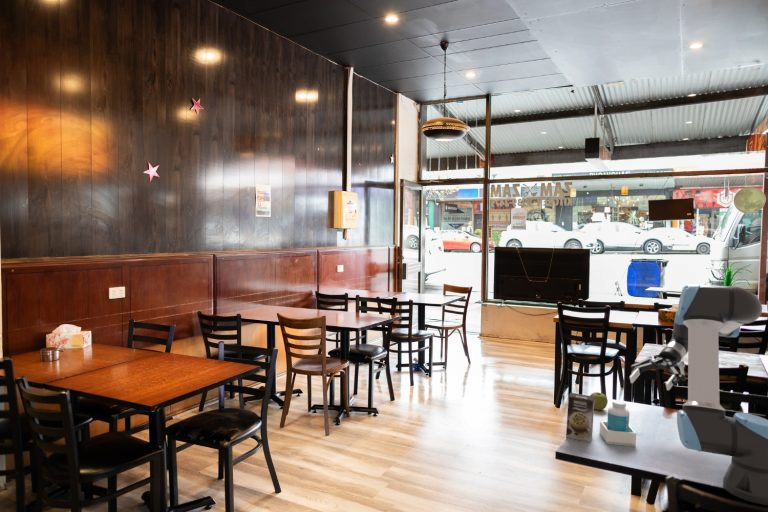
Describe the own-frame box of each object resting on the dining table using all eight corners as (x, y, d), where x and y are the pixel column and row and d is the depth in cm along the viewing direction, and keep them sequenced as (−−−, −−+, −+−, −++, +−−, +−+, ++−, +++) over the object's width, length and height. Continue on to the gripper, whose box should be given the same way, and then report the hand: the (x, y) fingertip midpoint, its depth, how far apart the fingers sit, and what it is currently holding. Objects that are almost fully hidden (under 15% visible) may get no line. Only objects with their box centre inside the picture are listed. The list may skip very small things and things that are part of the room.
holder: (635, 446, 191) (636, 433, 191) (606, 443, 192) (607, 430, 192) (627, 435, 201) (627, 423, 201) (599, 433, 202) (600, 421, 202)
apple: (589, 411, 229) (590, 395, 228) (588, 405, 236) (589, 390, 236) (607, 413, 226) (608, 397, 226) (606, 407, 234) (607, 392, 233)
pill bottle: (630, 442, 192) (632, 406, 192) (609, 439, 194) (611, 404, 193) (625, 434, 200) (627, 400, 199) (604, 432, 201) (606, 398, 200)
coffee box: (565, 437, 197) (567, 396, 196) (568, 432, 203) (570, 391, 202) (591, 443, 193) (593, 400, 192) (592, 437, 198) (595, 395, 198)
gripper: (707, 368, 199) (685, 399, 188) (642, 358, 219) (619, 385, 207) (704, 351, 198) (681, 381, 186) (639, 342, 217) (615, 369, 206)
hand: (648, 383), depth 197 cm, fingers open, 13 cm apart
